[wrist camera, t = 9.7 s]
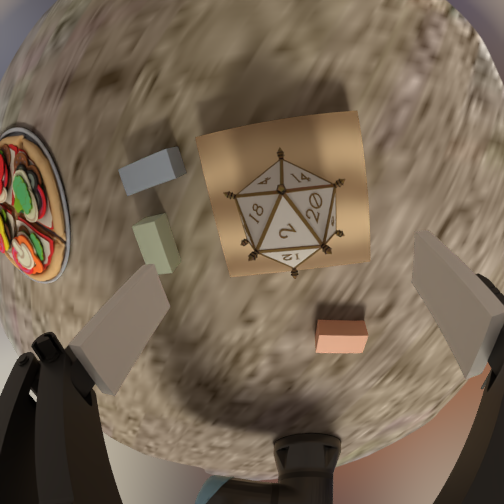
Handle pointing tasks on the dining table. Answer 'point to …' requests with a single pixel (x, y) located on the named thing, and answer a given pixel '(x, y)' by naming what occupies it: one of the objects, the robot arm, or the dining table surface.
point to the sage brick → (157, 243)
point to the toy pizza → (32, 208)
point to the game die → (288, 213)
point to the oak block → (303, 155)
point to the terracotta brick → (340, 336)
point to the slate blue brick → (152, 170)
